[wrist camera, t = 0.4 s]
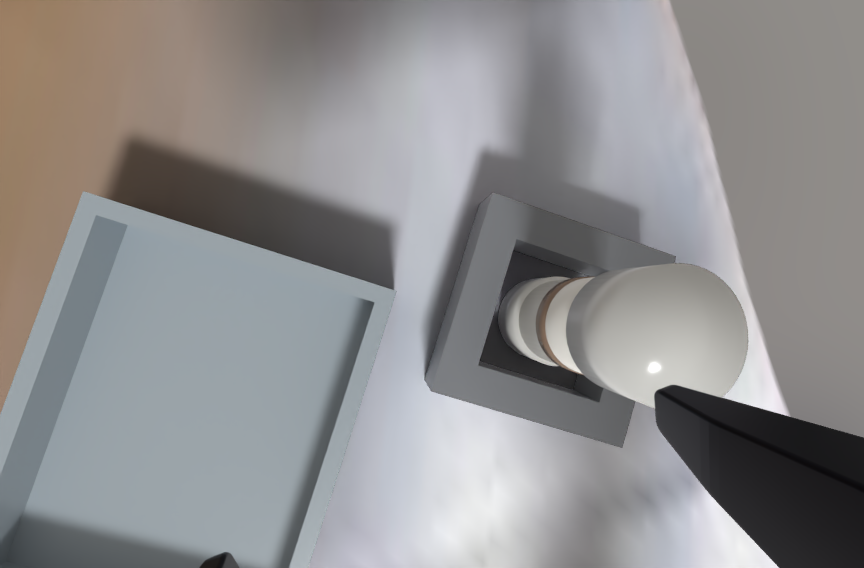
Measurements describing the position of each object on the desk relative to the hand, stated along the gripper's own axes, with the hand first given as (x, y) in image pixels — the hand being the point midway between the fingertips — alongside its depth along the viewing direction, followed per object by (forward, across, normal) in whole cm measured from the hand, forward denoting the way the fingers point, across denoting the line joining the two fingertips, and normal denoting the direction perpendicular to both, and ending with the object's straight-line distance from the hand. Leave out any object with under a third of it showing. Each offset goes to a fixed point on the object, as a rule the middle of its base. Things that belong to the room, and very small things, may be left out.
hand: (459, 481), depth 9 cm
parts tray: (+14, +10, +5) cm, 18 cm away
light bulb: (+14, -8, +5) cm, 17 cm away
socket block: (+14, -8, +5) cm, 17 cm away
